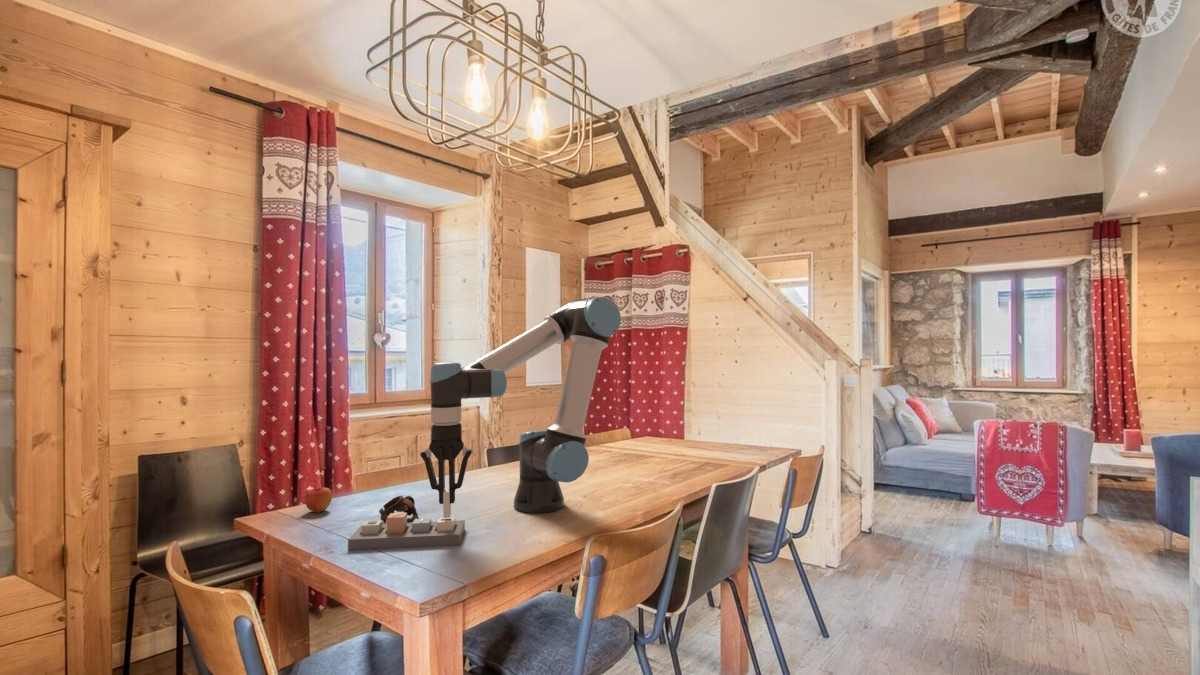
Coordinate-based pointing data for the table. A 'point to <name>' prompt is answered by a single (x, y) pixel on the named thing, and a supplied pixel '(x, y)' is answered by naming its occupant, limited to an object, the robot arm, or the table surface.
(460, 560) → the table surface
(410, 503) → the dark brown curved piece
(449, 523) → the cream key
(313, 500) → the apple
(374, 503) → the table surface
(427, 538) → the keypad board
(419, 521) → the slate key
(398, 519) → the terracotta key
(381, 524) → the sage key
